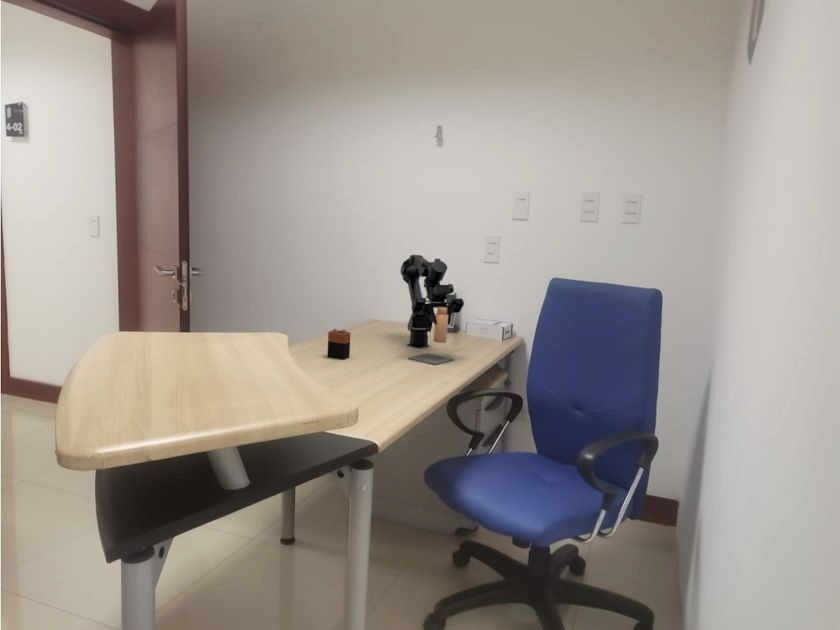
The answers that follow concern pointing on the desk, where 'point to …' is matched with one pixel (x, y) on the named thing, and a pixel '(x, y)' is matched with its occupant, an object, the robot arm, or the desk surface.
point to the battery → (338, 344)
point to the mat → (431, 359)
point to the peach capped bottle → (441, 325)
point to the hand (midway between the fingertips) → (442, 324)
